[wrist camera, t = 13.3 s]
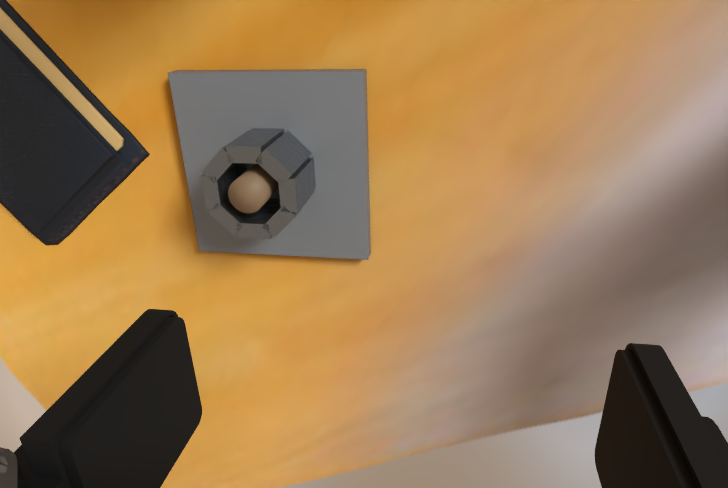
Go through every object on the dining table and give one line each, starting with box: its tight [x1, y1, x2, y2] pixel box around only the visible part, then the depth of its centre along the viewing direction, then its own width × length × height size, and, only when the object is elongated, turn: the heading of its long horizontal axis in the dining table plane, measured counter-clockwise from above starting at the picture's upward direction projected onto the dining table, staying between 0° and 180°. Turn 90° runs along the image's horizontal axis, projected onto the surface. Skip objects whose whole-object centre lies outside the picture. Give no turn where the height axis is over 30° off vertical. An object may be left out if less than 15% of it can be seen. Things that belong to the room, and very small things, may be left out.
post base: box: [168, 69, 371, 260], centre depth 37 cm, size 14×14×7 cm
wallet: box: [0, 0, 150, 245], centre depth 42 cm, size 20×2×15 cm
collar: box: [201, 128, 316, 239], centre depth 37 cm, size 6×6×5 cm
